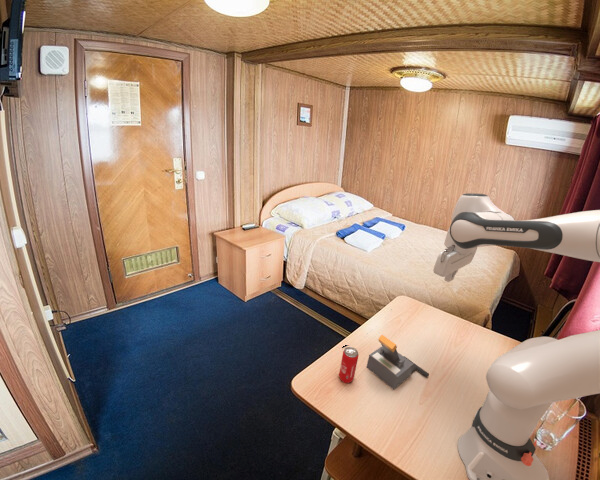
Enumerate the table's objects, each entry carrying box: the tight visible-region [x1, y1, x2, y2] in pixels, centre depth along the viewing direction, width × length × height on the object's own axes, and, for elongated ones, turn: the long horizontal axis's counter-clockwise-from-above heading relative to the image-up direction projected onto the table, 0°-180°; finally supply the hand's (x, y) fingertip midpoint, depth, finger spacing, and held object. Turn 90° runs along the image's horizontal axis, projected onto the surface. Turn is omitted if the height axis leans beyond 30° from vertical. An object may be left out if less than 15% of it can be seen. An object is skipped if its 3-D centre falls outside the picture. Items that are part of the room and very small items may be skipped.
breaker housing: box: [366, 346, 414, 391], centre depth 109 cm, size 12×12×9 cm
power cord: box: [403, 355, 430, 378], centre depth 112 cm, size 11×5×2 cm, turn 40°
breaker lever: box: [378, 334, 401, 364], centre depth 104 cm, size 6×2×13 cm
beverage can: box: [338, 346, 359, 384], centre depth 104 cm, size 5×5×12 cm
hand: (448, 280), depth 102 cm, fingers closed
